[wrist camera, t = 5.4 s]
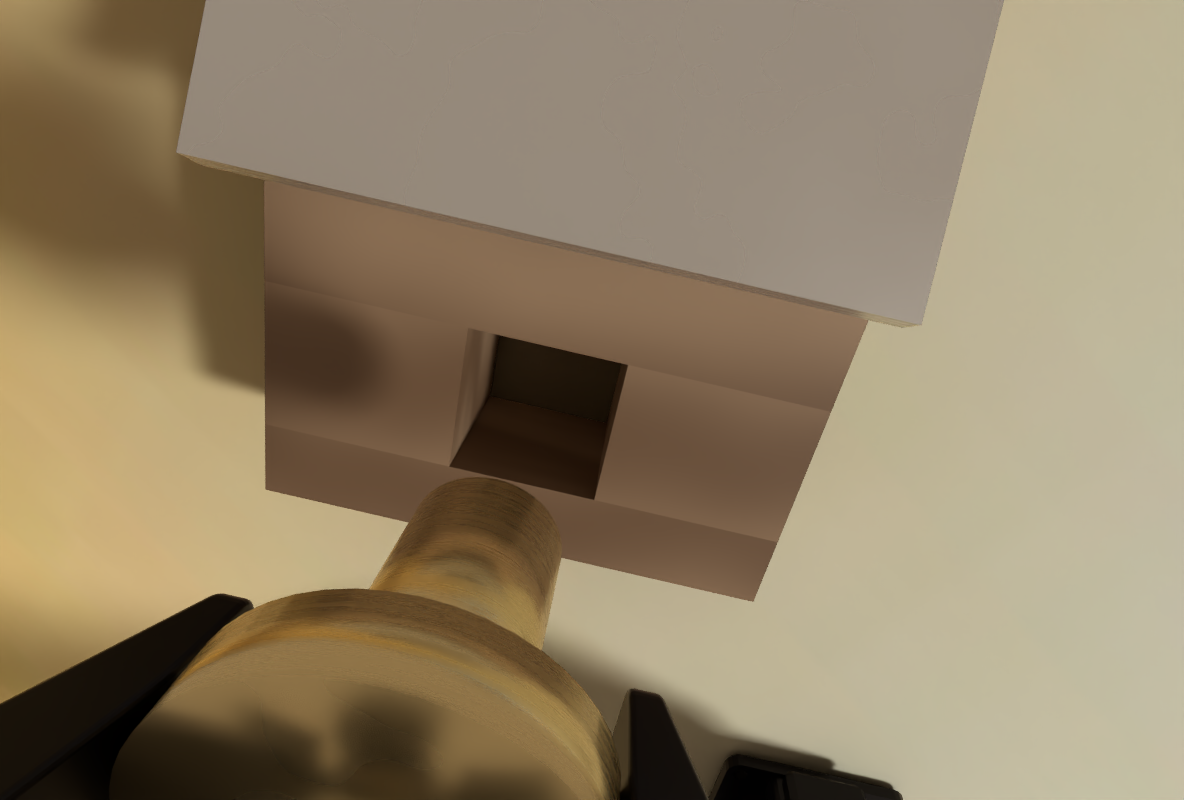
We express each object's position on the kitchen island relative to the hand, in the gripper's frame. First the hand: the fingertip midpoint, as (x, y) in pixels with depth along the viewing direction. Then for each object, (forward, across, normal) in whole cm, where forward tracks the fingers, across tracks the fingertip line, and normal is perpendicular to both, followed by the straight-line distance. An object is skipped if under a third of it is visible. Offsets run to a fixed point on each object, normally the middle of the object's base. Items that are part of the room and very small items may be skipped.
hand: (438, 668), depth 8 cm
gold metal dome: (+2, 0, 0) cm, 2 cm away
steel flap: (+5, 0, -8) cm, 9 cm away
